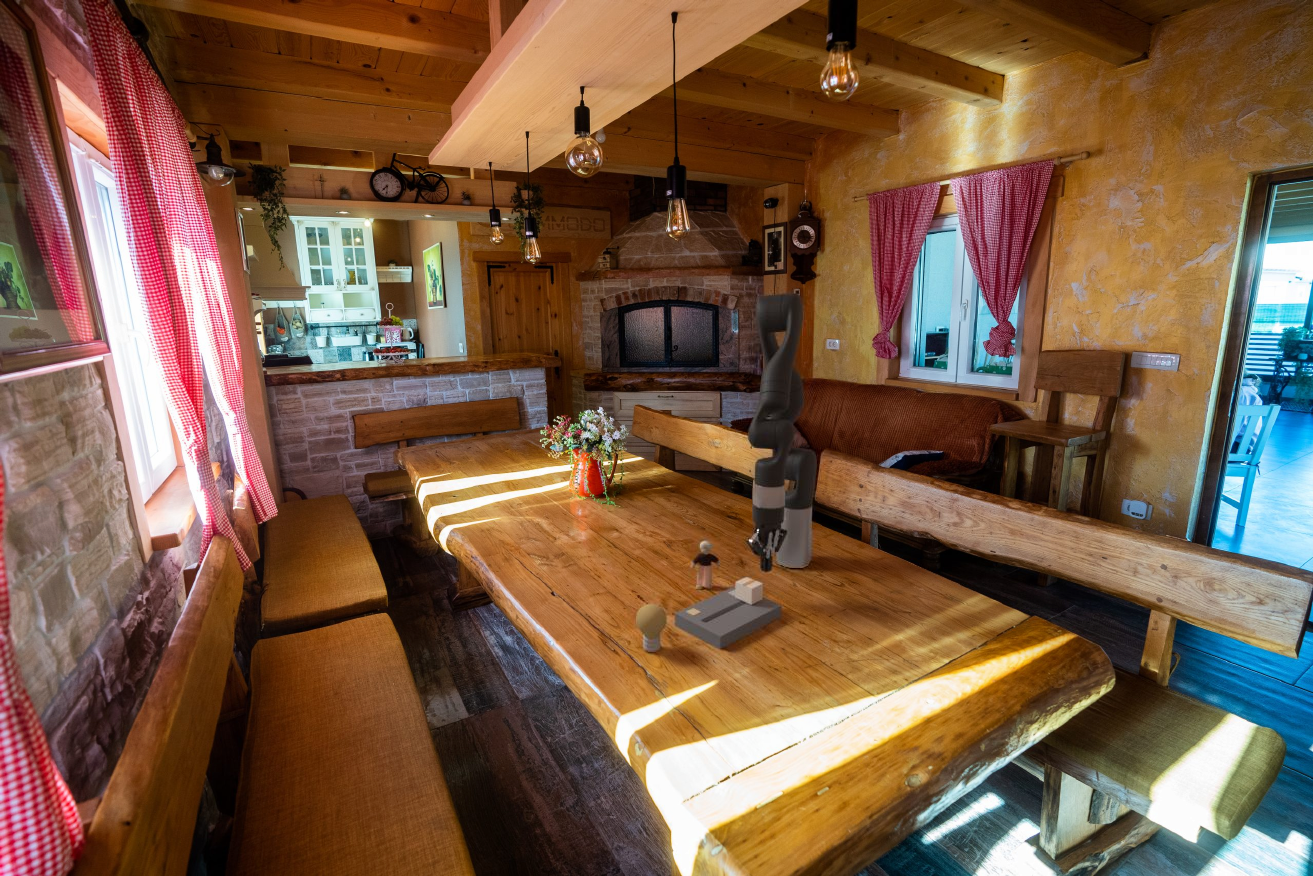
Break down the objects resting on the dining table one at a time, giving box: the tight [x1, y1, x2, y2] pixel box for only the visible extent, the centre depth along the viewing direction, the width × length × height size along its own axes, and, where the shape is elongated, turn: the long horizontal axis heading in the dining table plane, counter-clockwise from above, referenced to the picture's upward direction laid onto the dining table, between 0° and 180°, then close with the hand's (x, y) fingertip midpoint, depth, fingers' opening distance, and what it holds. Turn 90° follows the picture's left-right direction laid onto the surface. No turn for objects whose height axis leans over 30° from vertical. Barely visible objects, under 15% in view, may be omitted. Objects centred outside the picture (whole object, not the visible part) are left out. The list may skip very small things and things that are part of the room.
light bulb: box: [635, 603, 668, 653], centre depth 133 cm, size 6×6×10 cm
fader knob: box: [734, 576, 764, 605], centre depth 149 cm, size 4×5×4 cm
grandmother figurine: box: [690, 540, 722, 590], centre depth 161 cm, size 8×4×13 cm, turn 105°
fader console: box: [674, 585, 783, 650], centre depth 145 cm, size 21×14×3 cm, turn 132°
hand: (766, 570), depth 152 cm, fingers closed
